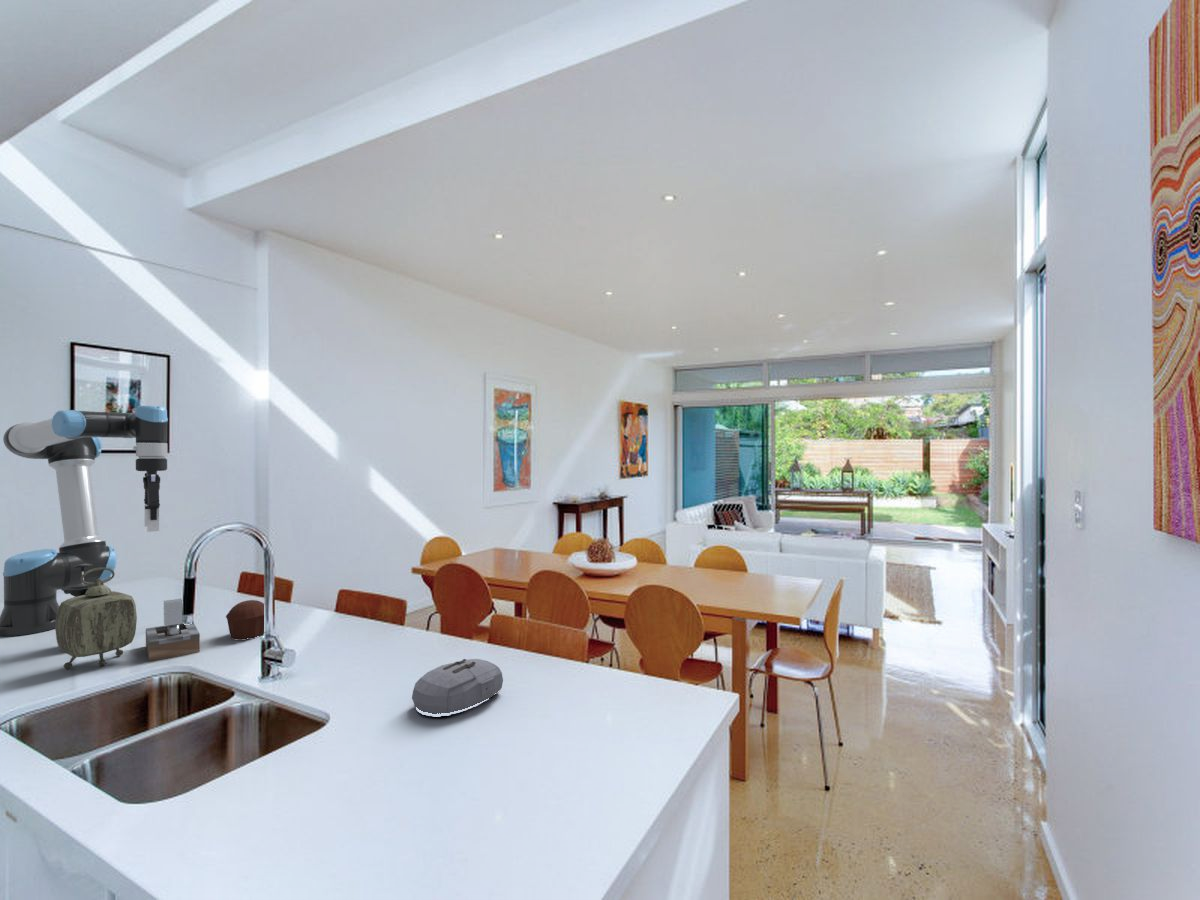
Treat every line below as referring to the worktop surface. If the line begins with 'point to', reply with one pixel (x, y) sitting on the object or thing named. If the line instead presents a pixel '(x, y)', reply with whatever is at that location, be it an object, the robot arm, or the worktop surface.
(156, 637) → the keyhole block
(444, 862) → the worktop surface
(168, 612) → the headed peg
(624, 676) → the worktop surface
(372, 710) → the worktop surface
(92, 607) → the tabletop clock
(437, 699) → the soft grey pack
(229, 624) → the muffin
